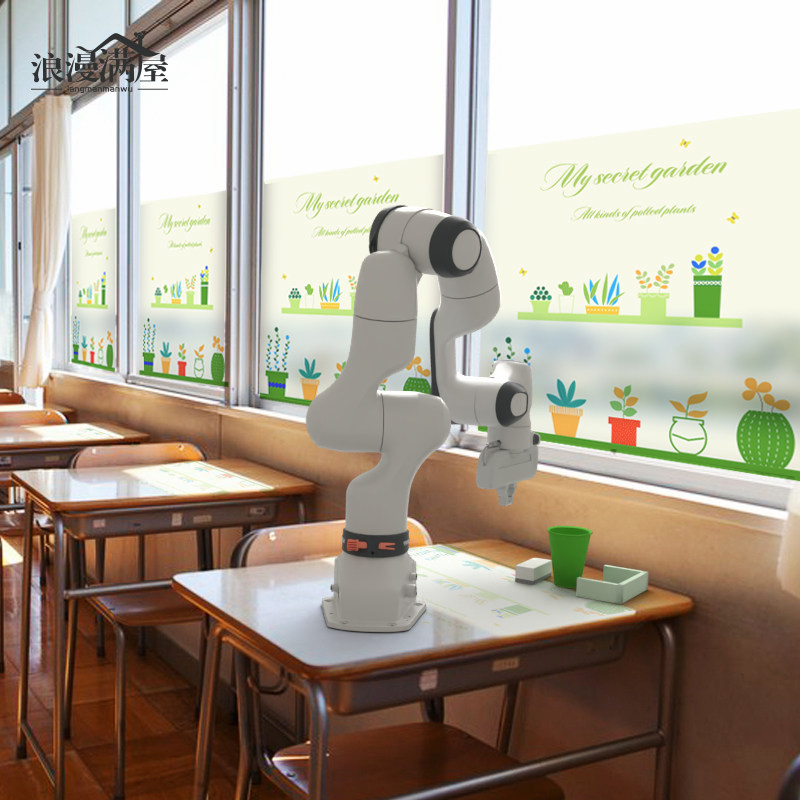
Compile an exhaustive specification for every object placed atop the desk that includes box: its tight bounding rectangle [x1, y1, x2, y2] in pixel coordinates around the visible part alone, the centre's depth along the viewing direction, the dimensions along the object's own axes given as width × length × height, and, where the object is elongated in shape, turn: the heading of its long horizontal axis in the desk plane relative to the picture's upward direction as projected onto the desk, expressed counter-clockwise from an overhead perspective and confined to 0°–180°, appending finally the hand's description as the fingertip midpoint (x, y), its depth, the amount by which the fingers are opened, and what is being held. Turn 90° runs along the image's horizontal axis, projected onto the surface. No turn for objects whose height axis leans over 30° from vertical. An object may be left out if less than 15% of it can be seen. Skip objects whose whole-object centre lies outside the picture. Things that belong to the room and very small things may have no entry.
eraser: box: [514, 557, 553, 585], centre depth 212 cm, size 9×4×4 cm, turn 149°
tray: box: [575, 564, 649, 605], centre depth 203 cm, size 14×9×4 cm, turn 146°
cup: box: [546, 525, 593, 589], centre depth 208 cm, size 9×9×11 cm
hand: (505, 504), depth 216 cm, fingers closed
